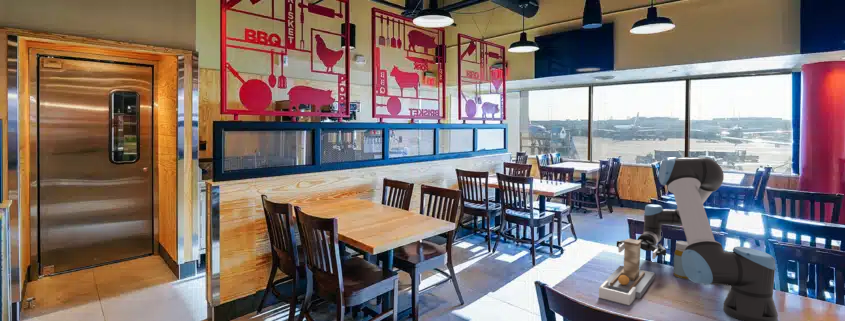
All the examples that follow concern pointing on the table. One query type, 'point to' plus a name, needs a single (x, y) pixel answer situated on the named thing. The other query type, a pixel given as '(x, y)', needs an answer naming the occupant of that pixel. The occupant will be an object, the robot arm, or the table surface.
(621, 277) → the ball
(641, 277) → the lane rails
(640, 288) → the platform
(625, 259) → the tan tall block
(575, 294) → the table surface
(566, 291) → the table surface
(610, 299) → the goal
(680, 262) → the bottle
